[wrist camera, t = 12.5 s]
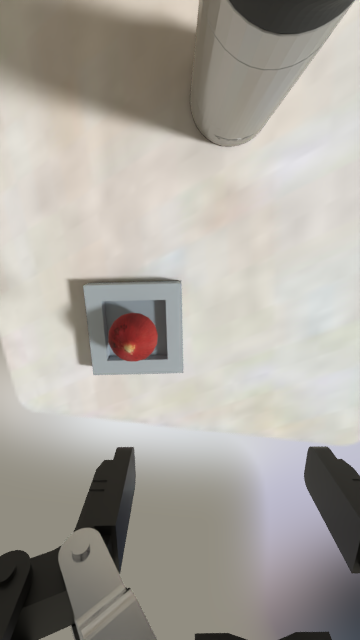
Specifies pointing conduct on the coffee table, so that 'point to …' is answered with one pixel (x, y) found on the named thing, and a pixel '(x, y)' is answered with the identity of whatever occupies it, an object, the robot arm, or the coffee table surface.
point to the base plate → (135, 297)
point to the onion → (133, 337)
